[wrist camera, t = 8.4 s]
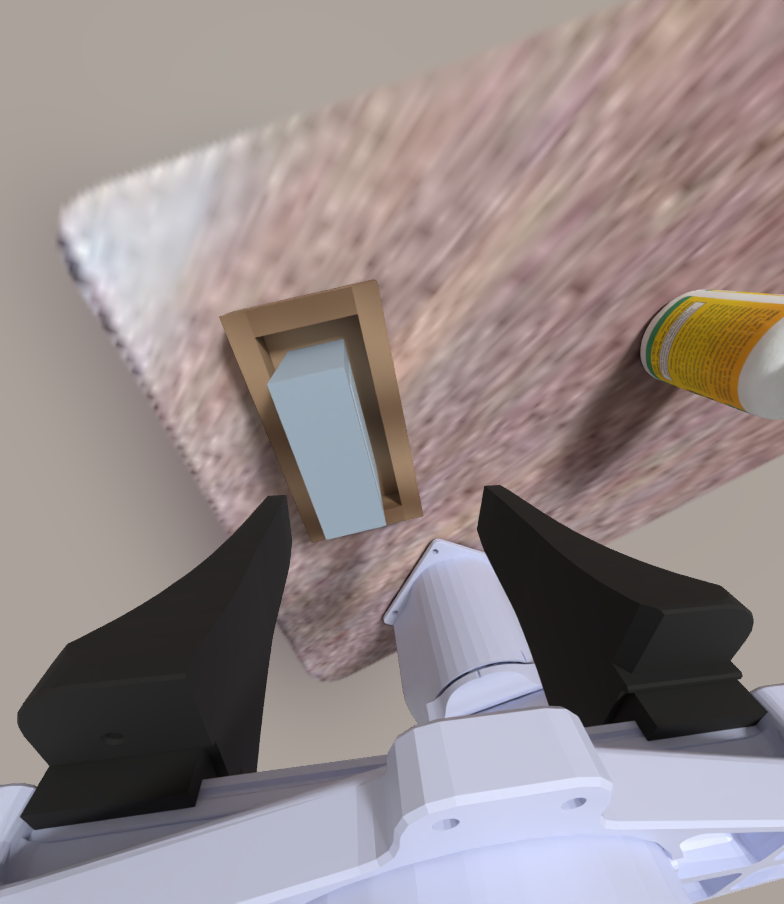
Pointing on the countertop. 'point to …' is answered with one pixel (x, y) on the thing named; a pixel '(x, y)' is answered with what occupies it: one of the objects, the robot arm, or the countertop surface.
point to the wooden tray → (365, 335)
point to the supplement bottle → (721, 348)
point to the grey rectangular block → (329, 437)
